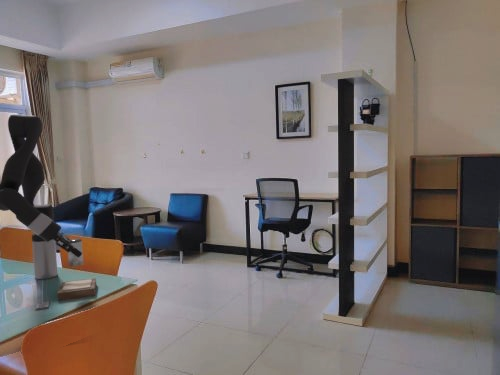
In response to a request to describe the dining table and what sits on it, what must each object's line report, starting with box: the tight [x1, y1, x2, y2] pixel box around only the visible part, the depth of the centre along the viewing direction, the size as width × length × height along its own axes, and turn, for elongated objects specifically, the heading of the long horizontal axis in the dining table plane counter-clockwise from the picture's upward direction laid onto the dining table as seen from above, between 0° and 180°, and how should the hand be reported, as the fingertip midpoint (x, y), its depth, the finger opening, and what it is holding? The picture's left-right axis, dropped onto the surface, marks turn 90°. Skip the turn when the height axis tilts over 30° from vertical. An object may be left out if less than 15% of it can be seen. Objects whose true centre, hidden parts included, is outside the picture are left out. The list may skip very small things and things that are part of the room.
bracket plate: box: [35, 300, 51, 311], centre depth 139 cm, size 6×4×1 cm, turn 23°
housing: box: [67, 238, 84, 268], centre depth 150 cm, size 5×5×10 cm
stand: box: [56, 278, 97, 302], centre depth 152 cm, size 13×13×3 cm
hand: (80, 253), depth 151 cm, fingers closed on housing, 5 cm apart
